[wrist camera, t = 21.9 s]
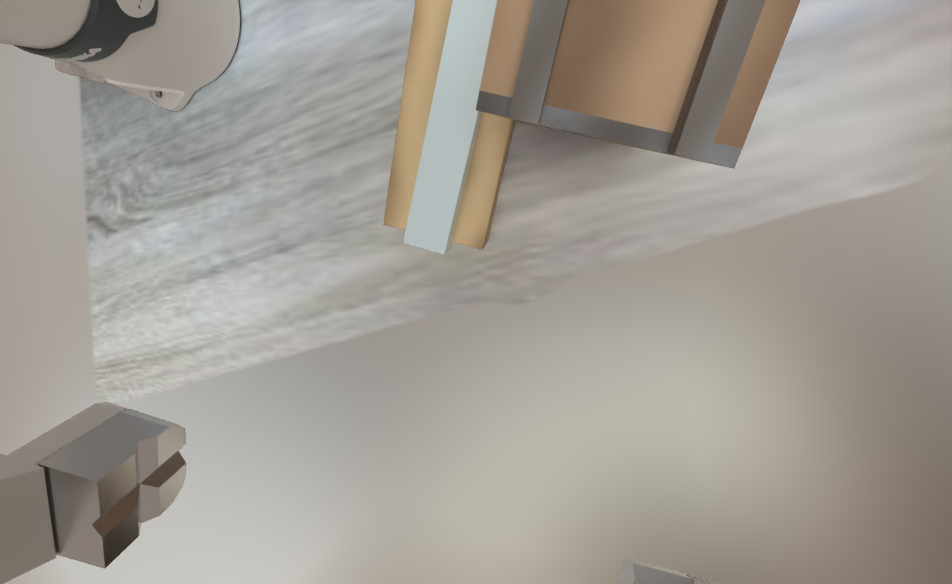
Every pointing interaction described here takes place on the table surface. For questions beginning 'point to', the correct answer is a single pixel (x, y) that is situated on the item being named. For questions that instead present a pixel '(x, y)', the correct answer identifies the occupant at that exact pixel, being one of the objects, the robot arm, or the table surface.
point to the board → (412, 130)
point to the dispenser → (637, 70)
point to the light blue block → (450, 127)
